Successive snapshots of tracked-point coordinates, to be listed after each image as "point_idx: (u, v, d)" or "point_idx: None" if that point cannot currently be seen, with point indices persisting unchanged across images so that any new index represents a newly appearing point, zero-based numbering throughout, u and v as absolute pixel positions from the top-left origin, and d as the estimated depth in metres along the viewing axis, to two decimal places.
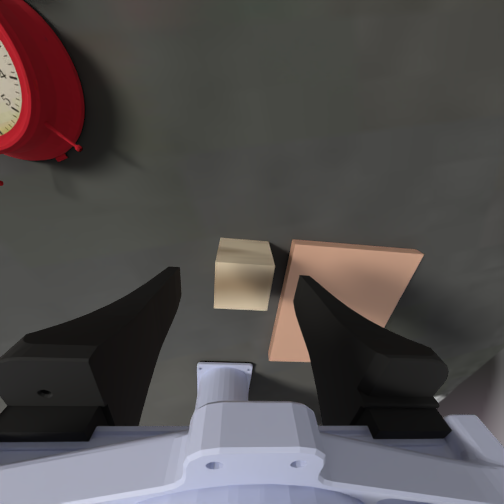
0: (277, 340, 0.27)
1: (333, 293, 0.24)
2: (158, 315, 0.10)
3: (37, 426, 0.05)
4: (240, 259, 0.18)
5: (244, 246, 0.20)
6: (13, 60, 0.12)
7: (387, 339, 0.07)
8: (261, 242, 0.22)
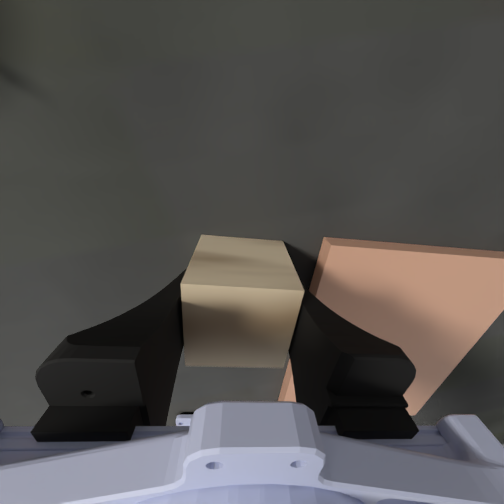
0: (292, 389, 0.18)
1: (385, 323, 0.15)
2: None
3: (37, 426, 0.05)
4: (233, 277, 0.09)
5: (242, 250, 0.11)
6: None
7: (358, 338, 0.07)
8: (271, 243, 0.13)
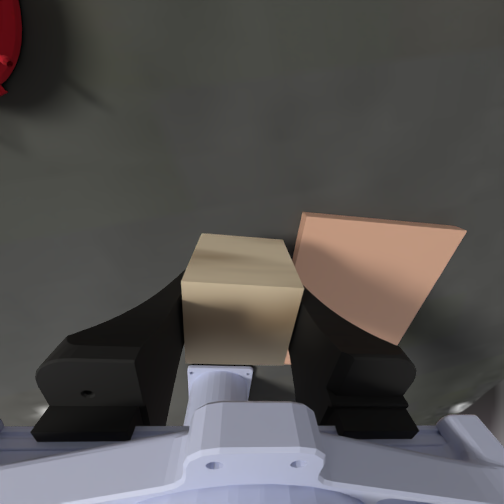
0: None
1: (352, 281, 0.20)
2: (181, 316, 0.10)
3: (37, 426, 0.05)
4: (233, 275, 0.09)
5: (242, 249, 0.11)
6: None
7: (358, 338, 0.07)
8: (271, 241, 0.13)
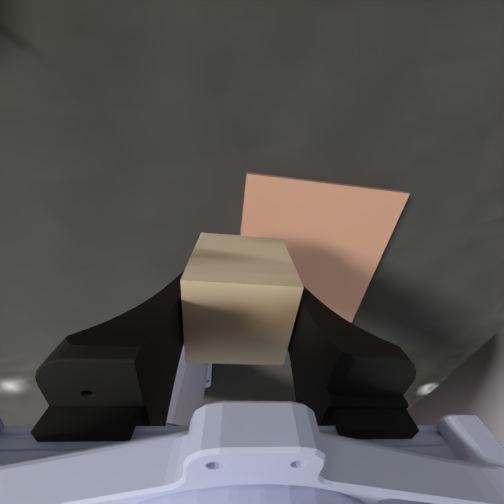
0: None
1: (300, 245, 0.20)
2: None
3: (37, 426, 0.05)
4: (233, 274, 0.09)
5: (242, 248, 0.11)
6: None
7: (358, 338, 0.07)
8: (271, 240, 0.13)
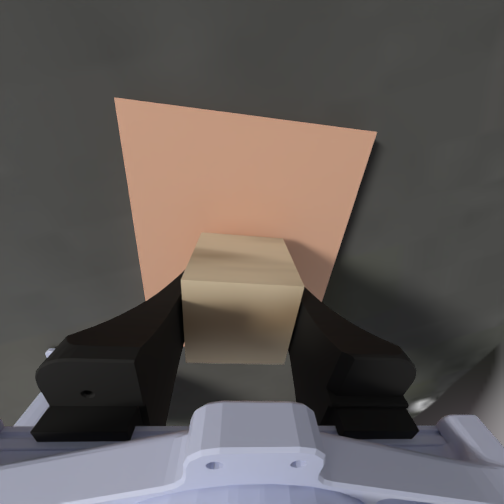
0: None
1: (223, 218, 0.14)
2: (181, 316, 0.10)
3: (37, 426, 0.05)
4: (234, 273, 0.09)
5: (242, 247, 0.11)
6: None
7: (358, 338, 0.07)
8: (271, 240, 0.13)
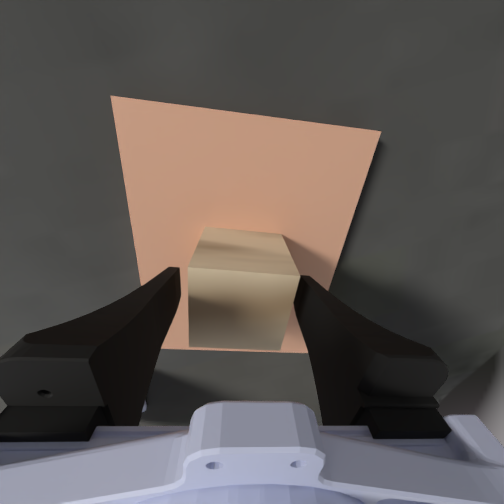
0: None
1: (223, 219, 0.13)
2: (158, 315, 0.10)
3: (37, 426, 0.05)
4: (236, 263, 0.10)
5: (243, 241, 0.12)
6: None
7: (387, 339, 0.07)
8: (270, 235, 0.14)
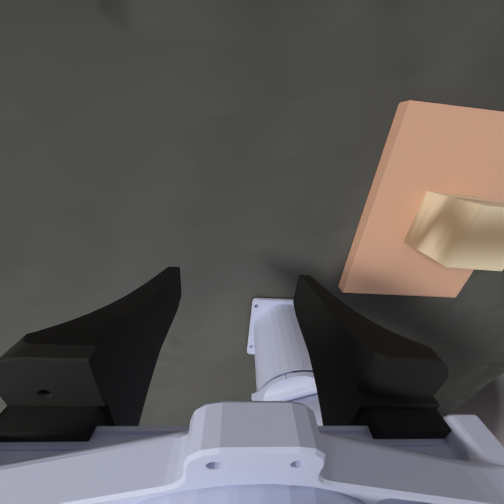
0: (358, 261, 0.22)
1: (441, 185, 0.19)
2: (158, 315, 0.10)
3: (37, 426, 0.05)
4: (500, 205, 0.15)
5: (470, 198, 0.18)
6: None
7: (387, 339, 0.07)
8: (474, 196, 0.19)
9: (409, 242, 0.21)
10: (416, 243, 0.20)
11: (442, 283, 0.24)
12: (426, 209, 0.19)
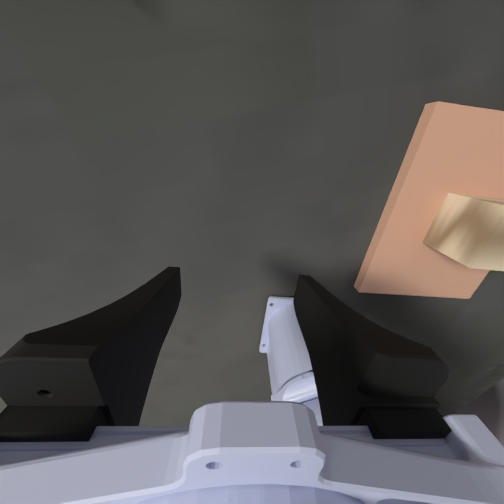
0: (376, 261, 0.22)
1: (463, 187, 0.19)
2: (158, 315, 0.10)
3: (37, 426, 0.05)
4: None
5: (492, 200, 0.18)
6: None
7: (387, 339, 0.07)
8: (494, 198, 0.19)
9: (428, 243, 0.21)
10: (436, 244, 0.20)
11: (456, 284, 0.24)
12: (447, 210, 0.19)
